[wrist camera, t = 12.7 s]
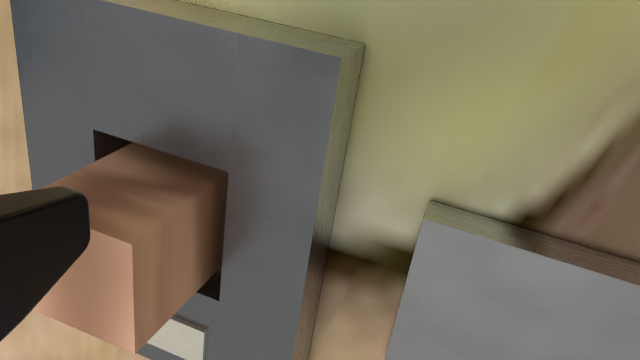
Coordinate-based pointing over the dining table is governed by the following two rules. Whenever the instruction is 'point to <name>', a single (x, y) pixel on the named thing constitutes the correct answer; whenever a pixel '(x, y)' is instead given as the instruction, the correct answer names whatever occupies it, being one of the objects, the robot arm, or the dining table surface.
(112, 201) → the peg
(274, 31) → the plate
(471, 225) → the tray
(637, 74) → the dining table surface
